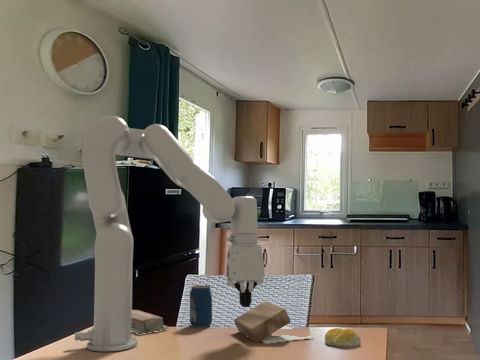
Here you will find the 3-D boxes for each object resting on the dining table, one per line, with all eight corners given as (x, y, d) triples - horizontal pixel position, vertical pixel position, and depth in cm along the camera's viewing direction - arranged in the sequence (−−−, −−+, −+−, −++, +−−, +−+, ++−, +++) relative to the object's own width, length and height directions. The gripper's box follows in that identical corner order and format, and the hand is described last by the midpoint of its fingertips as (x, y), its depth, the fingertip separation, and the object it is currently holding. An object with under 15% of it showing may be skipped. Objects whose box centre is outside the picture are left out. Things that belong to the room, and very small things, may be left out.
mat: (265, 343, 119) (265, 342, 119) (241, 330, 136) (241, 328, 136) (313, 339, 124) (313, 337, 124) (284, 326, 141) (284, 325, 141)
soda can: (214, 323, 145) (214, 285, 147) (208, 328, 139) (208, 288, 140) (194, 323, 147) (194, 285, 148) (186, 327, 140) (186, 287, 142)
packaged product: (169, 315, 137) (139, 319, 131) (169, 332, 137) (139, 337, 131) (142, 307, 151) (113, 311, 145) (141, 322, 151) (113, 327, 144)
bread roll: (337, 339, 125) (336, 323, 125) (365, 344, 118) (364, 328, 119) (317, 343, 119) (317, 328, 120) (346, 350, 113) (345, 333, 113)
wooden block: (251, 329, 120) (285, 308, 124) (233, 319, 133) (264, 301, 137) (257, 342, 120) (291, 321, 124) (239, 332, 133) (270, 313, 137)
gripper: (223, 241, 124) (224, 310, 122) (273, 239, 129) (275, 306, 127) (215, 240, 131) (215, 306, 129) (263, 239, 136) (264, 302, 134)
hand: (245, 306), depth 128 cm, fingers closed
